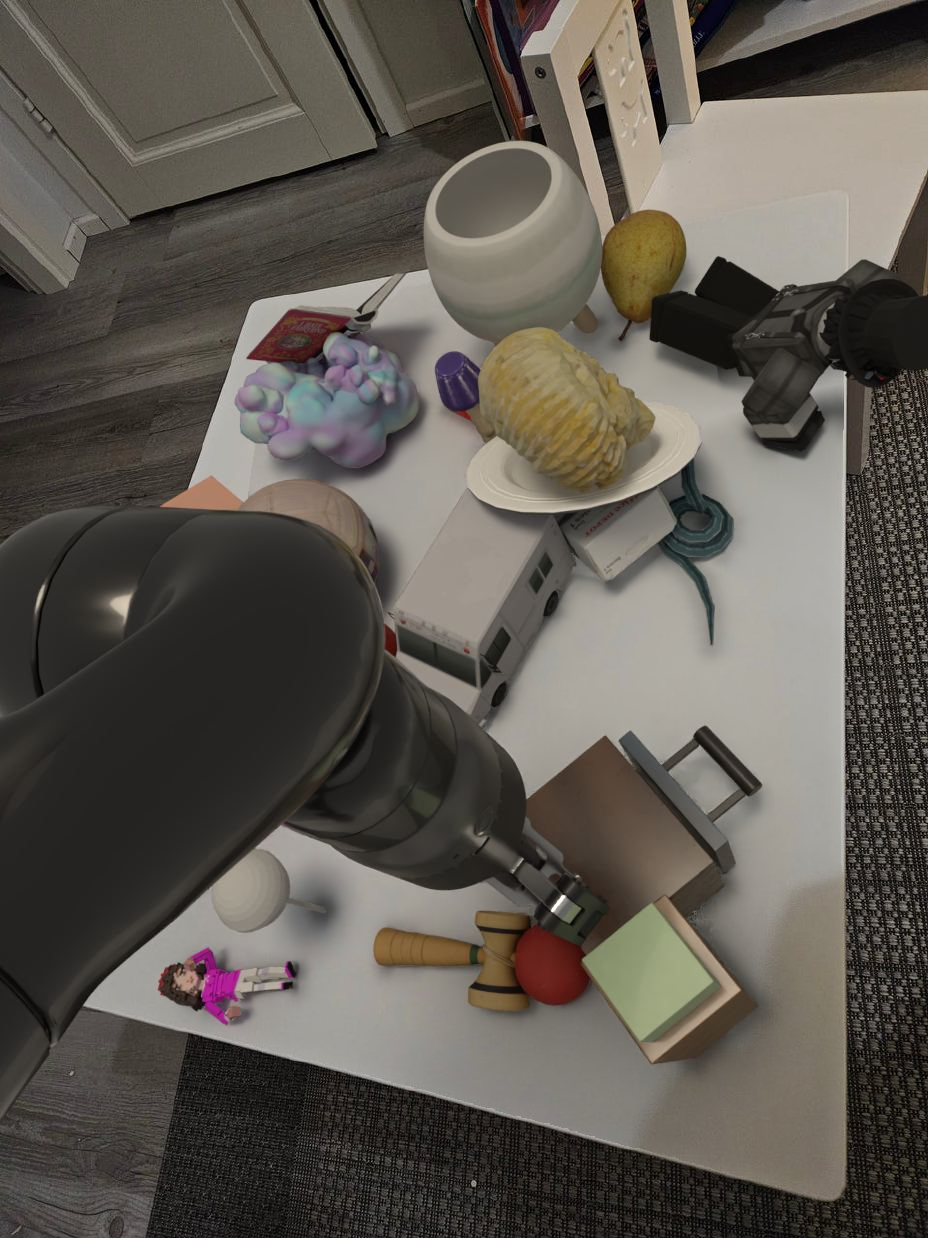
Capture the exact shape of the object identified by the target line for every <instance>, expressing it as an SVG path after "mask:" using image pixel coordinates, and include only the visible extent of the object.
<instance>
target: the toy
mask: <svg viewBox="0 0 928 1238" xmlns="http://www.w3.org/2000/svg"><path fill="white" fill-rule="evenodd" d="M648 339H649V341H650V342H654V343H657V344H658V343H659V344H662V345H664V346H666V347H669V348H672V349H674V350H676V351H679V352H681V353H684V354H685V355H689V356H691V357H693V358H695V359H699V360H701V361H704V362H706V363H708V364H711V365H713V366H715V367H718V368H721V369H723V370H725V371H727V370H733V369H736V371H737V375H738V376H739V377H741V378H751V379H753V382H752V384H751V385H750V387H749V388H748V390H747V391H746V393H745V394H744V396H743V397H742V399H741V404H742V414H743V416H744V417H745V419H746V420H747V421H748V423H749V424H750V426H751V427H752V428H753V430H754V431H755V433H756V434H757V436H758V437H759V438H760V440H761V442H762V444H763V446H765V447H769V448H770V447H771V448H777V449H782V450H788V451H793V452H805V451H806V450H807V449H808V447H809V445H810V444H811V443H812V441H813V440H814V438H815V436H816V435H817V433H818V432H819V430H820V429H821V428H822V426H823V425H824V423H825V421H826V419H825V416H824V414H823V412H822V411H821V410H819V405H818V403H817V402H816V400H815V399H814V397H813V396H812V394H811V391H813V390H812V389H814V386H815V385H816V383H817V382H818V380H819V379H820V377H821V376H822V375H823V374H824V373H825V372H826V370H827V369H829V367H830V368H831V369H832V370H834V371H835V370H836V371H842V372H845V374H844V376H845V378H846V379H849V378H850V377H851V376H853V378H851V379H850V381H857V382H858V383H859V384H860V385H863V386H864V387H866V388H870V389H876V388H881V387H884V386H886V385H887V384H889V383H891V382H892V381H893V380H895V381H897V382H899V383H901V384H902V383H903V381H902V380H900V379H898V378H896V377H897V376H898V375H900V374H902V375H904V376H905V375H907V374H908V375H909V376H911V377H914V375H913V374H911V373H910V371H912V372H919V371H922V370H923V371H924V370H925V369H928V295H927V294H925V295H919V294H918V292H917V291H916V290H915V289H914V288H913V287H912V286H911V285H909V284H908V283H906V282H904V281H903V278H902V277H901V275H900V274H898V273H896V272H894V271H892V270H890V269H888V268H885V267H884V266H882V265H879V264H877V263H876V262H875V263H874V262H873V261H870V260H868V259H866V258H865V259H860V260H859V261H858V262H856V263H855V264H854V265H852V267H851V268H849V269H848V270H847V271H845V272H844V273H843V274H842V275H840V276H839V277H838V278H837V279H836V280H830V281H824V282H818V283H809V284H804V285H798V286H797V284H794V283H790V284H785V285H784V286H783V287H782V288H781V289H780V290H778V289H776V288H775V287H773V286H771V285H770V284H768V283H767V282H765V281H763V280H762V279H760V278H759V277H757V276H756V275H753V274H752V273H750V272H749V271H747V270H745V269H743V267H740V266H739V265H737V264H736V263H734V262H732V261H730V260H729V261H727V259H726V258H725V257H722V256H720V255H718V256H716V257H715V258H714V260H713V261H712V263H711V264H710V265H709V267H708V269H707V270H706V272H705V274H704V275H703V277H702V278H701V280H700V281H699V283H698V284H697V286H696V287H695V289H694V294H692V293H689V292H688V291H686V290H676V291H671V292H670V293H668V294H664V295H660V296H656V297H654V298H653V299H652V308H651V318H650V325H649V337H648ZM904 372H908V373H904Z"/></svg>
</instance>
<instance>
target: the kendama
mask: <svg viewBox="0 0 928 1238" xmlns="http://www.w3.org/2000/svg"><path fill="white" fill-rule="evenodd" d="M474 925H475V927H476V928H477V929H478V931H479V932H480V934H481V936H482V939H483V942H484V944H482V945H478V944H474V943H471V942H467V941H463V940H458V939H454V938H449V937H445V936H438V935H432V934H431V935H430V934H424V933H418V932H412V931H406V930H401V929H396V928H391V927H382V928H380V929H379V930H378V931H377V933H376V935H375V937H374V941H373V947H372V948H373V949H372V951H373V958H374V960H375V962H376V963H377V964H378V965H379V966H384V967H386V966H387V967H388V966H412V967H413V966H414V967H442V968H443V967H444V968H446V967H447V968H448V967H449V968H450V967H465V966H467V967H468V966H479V965H480V966H482V969H481V970H480V973H479V975H478V976H477V977H476V979H475V980H474V981H473V982H472V983H471V984H470V985H469V986H468V987H467V988H468V989H467V1003H468V1004H469V1005H470V1006H472V1007H475V1008H479V1009H484V1010H492V1011H504V1012H505V1011H506V1012H519V1011H520V1012H521V1011H525V1010H528V1009H529V1008H530V1005H531V998H532V999H533V1000H535V1001H536V1002H538V1003H541V1004H543V1005H547V1006H552V1007H553V1006H563V1005H568V1004H569V1003H572V1002H574V1001H576V1000H577V999H578V998H580V997H581V996H582V995H583V994H584V993H585V991H586V990H587V989H588V987H589V985H590V983H591V981H592V980H591V979H590V977H589V976H588V974H587V973H586V971H585V970H584V969H583V967H582V966H581V962H582V959H583V958H584V957H585V956H586V954H585V953H584V952H583V950H582V949H581V947H580V946H578V945H576V944H572V943H571V942H569V941H567V940H565V939H563V938H560V937H558V936H556V935H554V934H552V933H550V932H549V931H548V930H547V929H546V931H544V930H542V929H541V928H540V927H539V926H538V925H537V923H536V924H533V925H532V916H531V915H530V914H527V913H523V912H514V911H513V912H512V911H499V910H498V911H496V910H476V912H475V917H474Z"/></svg>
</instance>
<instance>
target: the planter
mask: <svg viewBox="0 0 928 1238" xmlns="http://www.w3.org/2000/svg"><path fill="white" fill-rule="evenodd" d="M602 246H603V240H602V231H601V226H600V223H599V219H598V216H597V213H596V210H595V206H594V205H593V202H592V200H591V198H590V195H589V194H588V192H587V189H586V188H585V187H584V184H583V183H582V181H581V180H580V179H579V177H578V175H577V174H576V173H575V171H574V170H573V169H572V168H571V167H570V165H568V163H567V162H566V161H565V160H564V159H563V158H562V157H561V156H560V155H558V154H557V153H556V152H554V151H553V150H552V149H551V148H549V147H547V146H546V145H543V144H540V143H538V142H533V141H528V140H511V141H510V140H509V141H502V142H498V143H494V144H491V145H488V146H485V147H483V148H480V149H478V150H476V151H474V152H472V153H470V154H469V155H467V156H465V157H463V158H462V159H461V160H459V161H458V162H456V163H455V164H454V165H453V166H451V167H450V168H449V169H448V170H447V171H446V172H445V173H444V174H443V175H442V176H441V178H440V179H439V180H438V182H437V183H436V184H435V185H434V187H433V188H432V190H431V192H430V194H429V196H428V199H427V202H426V205H425V211H424V217H423V247H424V256H425V261H426V265H427V270H428V272H429V277H430V280H431V283H432V286H433V288H434V291H435V293H436V296H437V298H438V299H439V301H440V303H441V305H442V306H443V308H444V309H445V311H446V312H447V314H448V315H449V316H450V317H451V319H452V320H454V321H455V323H456V324H457V325H458V326H460V327H461V328H462V329H463V330H464V331H466V332H468V333H469V334H471V335H472V336H473V337H476V338H479V339H481V340H483V341H486V342H489V343H494V344H493V345H494V348H495V347H496V346H497V345H498V344H499V343H500V342H501V341H502V340H503V339H504V338H505V337H507V336H509V335H511V334H512V333H515V332H518V331H520V330H524V329H529V328H535V327H543V328H548V329H553V330H554V331H555V332H557V333H558V334H559V333H560V332H561V331H562V330H564V329H565V328H566V327H567V326H568V325H569V324H570V323H571V322H572V323H573V324H574V325H575V327H577V329H579V331H580V332H581V333H583V334H587V335H588V334H592V333H594V332H595V331H596V330H597V329H598V327H599V320H598V319H597V318H598V317H596V315H595V313H594V311H593V310H592V308H591V307H590V306H589V305H588V304H587V303H588V301H589V300H590V298H591V297H592V295H593V292H594V290H595V288H596V286H597V283H598V280H599V277H600V274H601V264H602Z"/></svg>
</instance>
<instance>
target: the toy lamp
mask: <svg viewBox="0 0 928 1238" xmlns="http://www.w3.org/2000/svg"><path fill="white" fill-rule="evenodd" d="M480 371H481V368H480V367H479V366H478V365H477V364H475V362H474V361H473V360H471V359H470V358H469V357H468V356H467V355H466V354H464V353H462V352H460V351H457V350H452V351H447V352H445V353H443V354H442V355H441V356H440V357H439V358H438V359H437V360H436V362H435V366H434V374H435V380H436V384H437V390H438V394H439V398H440V400H441V401H440V402H441V403H442V404H443V406H444V407H445V408H447V409H448V410H450V411H452V412H454V411H461V412H462V411H466V412H467V414H468V415H469V416H470V417H471V420H472V421H471V423H472V424H473V425H474V426H475V428H476V432H477V433H478V434H479V435H480V436H481V440H482V441H483V442H484V443H485V444H487V443H488V442H489V441H491V440H492V439H493V438H495V437H496V436H497V435H496V431H495V428H494V427H493V425H492V424H490V423H489V422H488V421H487V420H485V419H484V418H483V417H482V415H481V413H480V399H479V386H478V376H479V373H480Z"/></svg>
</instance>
